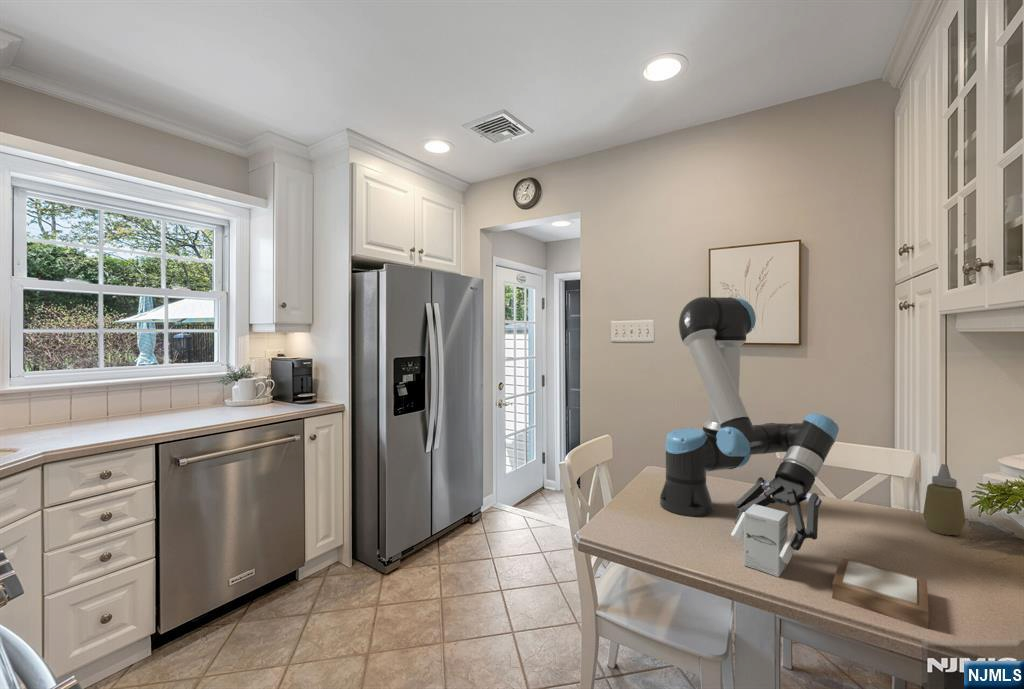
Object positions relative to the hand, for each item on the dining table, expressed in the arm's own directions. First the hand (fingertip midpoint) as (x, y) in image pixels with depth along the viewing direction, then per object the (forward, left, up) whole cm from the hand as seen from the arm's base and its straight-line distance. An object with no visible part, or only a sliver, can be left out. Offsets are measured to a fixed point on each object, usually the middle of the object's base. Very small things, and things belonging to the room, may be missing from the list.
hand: (757, 548), depth 99 cm
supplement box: (+1, +3, -5) cm, 6 cm away
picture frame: (+21, +5, -5) cm, 22 cm away
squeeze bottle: (+32, +54, -5) cm, 63 cm away
